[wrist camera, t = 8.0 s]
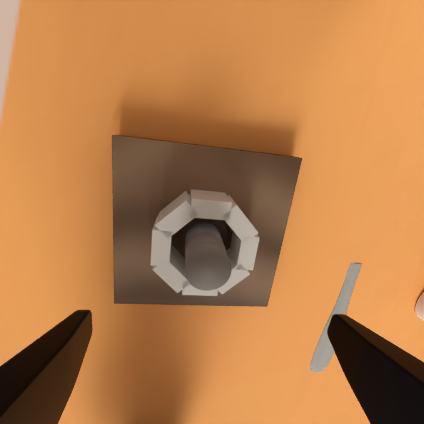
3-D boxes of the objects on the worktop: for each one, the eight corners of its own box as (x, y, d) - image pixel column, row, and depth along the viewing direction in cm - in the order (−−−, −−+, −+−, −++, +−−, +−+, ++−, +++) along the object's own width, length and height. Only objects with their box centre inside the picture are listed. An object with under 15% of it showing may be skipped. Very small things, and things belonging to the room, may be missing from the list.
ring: (239, 276, 17) (247, 296, 15) (154, 272, 16) (149, 293, 14) (254, 195, 15) (266, 205, 13) (158, 185, 15) (153, 195, 12)
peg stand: (261, 294, 20) (291, 356, 14) (119, 290, 18) (90, 359, 13) (292, 156, 16) (348, 167, 11) (119, 135, 15) (77, 134, 9)
